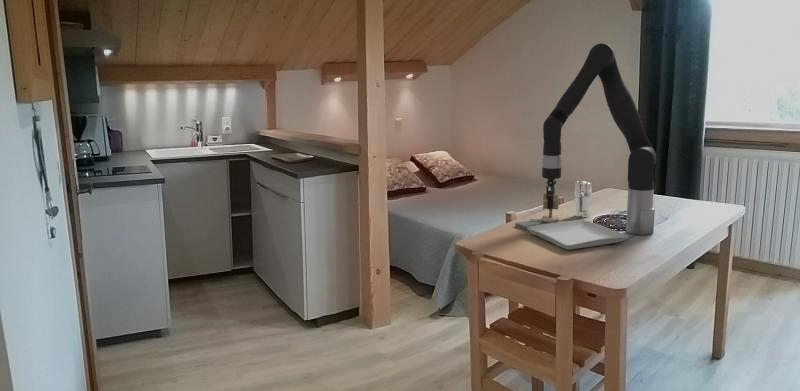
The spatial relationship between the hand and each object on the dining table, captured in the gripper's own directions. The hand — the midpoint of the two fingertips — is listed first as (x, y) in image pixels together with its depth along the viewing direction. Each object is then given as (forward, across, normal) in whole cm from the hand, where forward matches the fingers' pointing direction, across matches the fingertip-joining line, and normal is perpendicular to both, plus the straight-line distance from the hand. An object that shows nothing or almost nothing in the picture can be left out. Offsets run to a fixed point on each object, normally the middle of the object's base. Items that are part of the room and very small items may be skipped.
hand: (550, 207), depth 256 cm
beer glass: (+8, +19, -12) cm, 24 cm away
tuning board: (+8, -3, +3) cm, 9 cm away
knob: (+6, 0, +2) cm, 6 cm away
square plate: (+8, -18, -11) cm, 23 cm away
